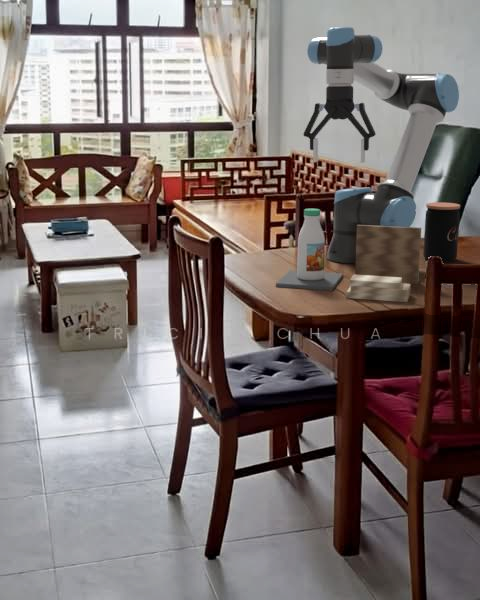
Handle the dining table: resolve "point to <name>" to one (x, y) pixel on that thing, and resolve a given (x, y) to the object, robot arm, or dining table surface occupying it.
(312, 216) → the milk bottle
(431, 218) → the coffee jar
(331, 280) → the charcoal mat
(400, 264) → the offcut rack
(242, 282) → the dining table surface
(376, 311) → the dining table surface
